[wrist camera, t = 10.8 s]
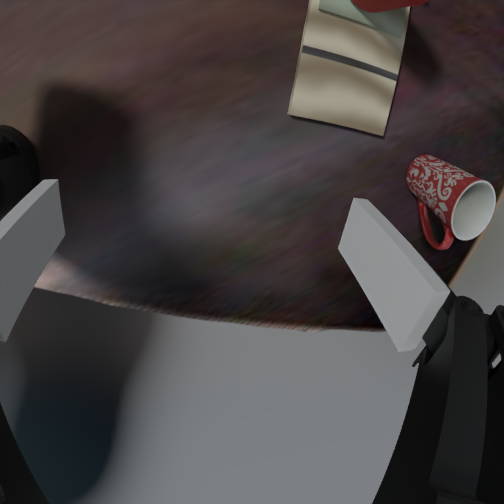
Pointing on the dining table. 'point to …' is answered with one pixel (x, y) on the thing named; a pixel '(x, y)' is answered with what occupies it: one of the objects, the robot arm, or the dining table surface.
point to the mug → (450, 199)
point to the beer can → (385, 4)
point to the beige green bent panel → (348, 64)
